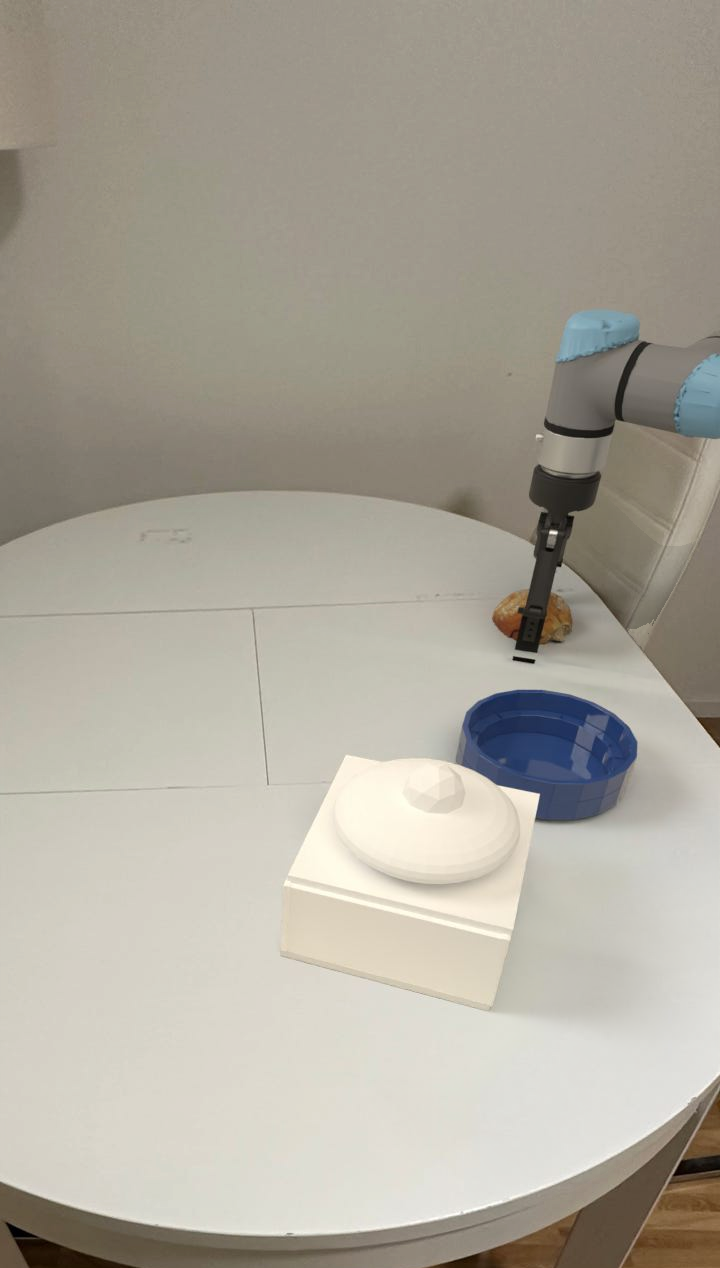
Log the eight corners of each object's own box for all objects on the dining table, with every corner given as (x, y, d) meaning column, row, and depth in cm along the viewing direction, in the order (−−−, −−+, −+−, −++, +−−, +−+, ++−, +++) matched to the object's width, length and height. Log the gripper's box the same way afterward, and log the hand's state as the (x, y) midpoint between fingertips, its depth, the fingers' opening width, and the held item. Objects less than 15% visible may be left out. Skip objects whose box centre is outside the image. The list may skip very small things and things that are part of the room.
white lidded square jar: (280, 956, 77) (285, 808, 66) (337, 828, 90) (350, 687, 79) (490, 1012, 72) (532, 863, 62) (519, 869, 85) (558, 725, 74)
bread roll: (556, 650, 123) (562, 589, 121) (581, 655, 113) (589, 588, 111) (482, 650, 124) (487, 588, 121) (501, 654, 114) (507, 588, 112)
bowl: (626, 744, 100) (639, 705, 97) (620, 839, 88) (635, 798, 85) (469, 716, 105) (476, 678, 101) (443, 803, 92) (450, 763, 89)
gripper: (545, 432, 114) (511, 592, 128) (523, 500, 97) (486, 677, 111) (607, 438, 112) (566, 600, 126) (596, 509, 95) (550, 688, 109)
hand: (529, 636), depth 119 cm, fingers open, 13 cm apart
